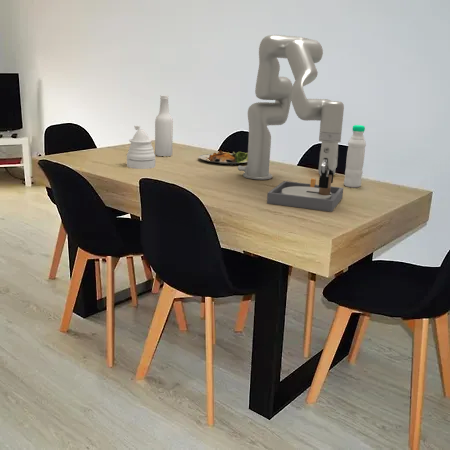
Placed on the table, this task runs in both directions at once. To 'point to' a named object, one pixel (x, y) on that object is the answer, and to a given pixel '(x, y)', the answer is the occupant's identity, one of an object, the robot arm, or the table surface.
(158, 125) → the alcohol
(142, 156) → the honey pot
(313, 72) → the robot arm
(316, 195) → the dial
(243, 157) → the plate of food
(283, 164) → the table surface
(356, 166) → the water bottle
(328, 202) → the dial frame
